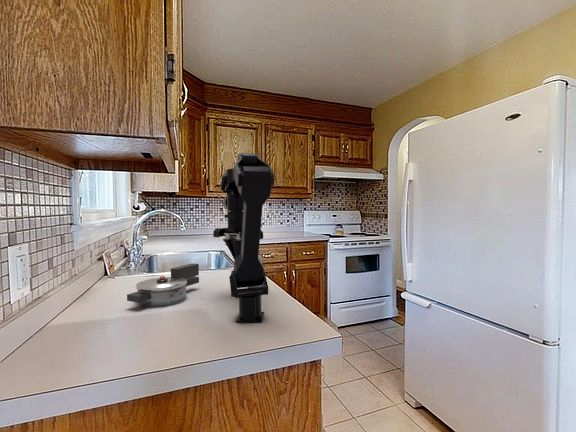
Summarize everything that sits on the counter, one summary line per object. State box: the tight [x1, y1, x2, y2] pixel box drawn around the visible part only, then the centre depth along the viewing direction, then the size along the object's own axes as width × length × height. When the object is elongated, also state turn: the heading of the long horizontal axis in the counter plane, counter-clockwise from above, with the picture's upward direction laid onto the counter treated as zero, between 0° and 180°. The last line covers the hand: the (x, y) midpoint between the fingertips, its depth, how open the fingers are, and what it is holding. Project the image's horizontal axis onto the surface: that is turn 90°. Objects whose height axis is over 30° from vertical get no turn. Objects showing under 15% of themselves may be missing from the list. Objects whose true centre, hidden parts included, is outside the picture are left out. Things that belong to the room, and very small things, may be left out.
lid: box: [135, 263, 200, 291], centre depth 99 cm, size 22×15×4 cm, turn 155°
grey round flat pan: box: [126, 276, 200, 309], centre depth 97 cm, size 25×14×4 cm, turn 155°
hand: (237, 261), depth 94 cm, fingers closed
